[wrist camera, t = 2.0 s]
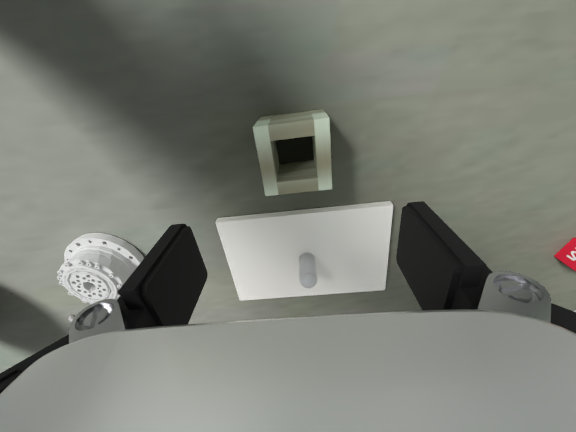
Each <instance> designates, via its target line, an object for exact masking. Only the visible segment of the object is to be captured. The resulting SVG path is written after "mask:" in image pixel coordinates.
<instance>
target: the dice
mask: <svg viewBox="0 0 576 432" xmlns="http://www.w3.org/2000/svg"><path fill="white" fill-rule="evenodd" d="M554 256H555V257H556V258H557V259H559V260H560V261H562V262H563V263H564V264H566V265H567V266H569V267H570V268H571V269H573V270H574V271H576V238H573V239H572V240H571V241H570V242H569V243H567V244H566V245H565V246H564V247H563V248H562V249H561V250H560V251H559V252H558V253H557V254H556V255H554Z"/></svg>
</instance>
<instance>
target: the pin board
mask: <svg viewBox="0 0 576 432" xmlns="http://www.w3.org/2000/svg"><path fill="white" fill-rule="evenodd" d="M392 214H393V204H392V203H391V201H385V202H375V203H365V204H355V205H345V206H335V207H325V208H314V209H304V210H294V211H284V212H274V213H264V214H254V215H244V216H234V217H224V218H217V220H216V222H215V223H216V226H217V229H218V232H219V236H220V239H221V242H222V245H223V248H224V252H225V255H226V258H227V261H228V264H229V267H230V271H231V274H232V277H233V280H234V283H235V286H236V290H237V293H238V296H239V299H240V301H241V300H255V299H269V298H283V297H296V296H310V295H324V294H338V293H352V292H366V291H379V290H385V285H386V275H387V265H388V255H389V245H390V234H391V224H392Z"/></svg>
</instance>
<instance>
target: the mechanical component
mask: <svg viewBox="0 0 576 432" xmlns="http://www.w3.org/2000/svg"><path fill="white" fill-rule="evenodd" d="M64 258H65V263H64V264H63V265H62V266H61V267H60V269H59V270H58V271H57V273H58V274H59V275H58V276H57V279H59V280H61V281H60V282H59V284H60V285H64V286H65V288H66V289H67V290H68V291H69V292H68V294H69V295H75V296H76V297H78V298H80V299H82V302H83V303H87V302H90V304H93V303H95V302H98V301H100V300H104V299H115V300H117V299H118V298H119V297H120V295H119V294H118V290H119V289H120V288H121V287H122V285H123V284H124V283H125V282H126V280H127V279H128V278H129V277H130V275H131V274H132V273H133V272H134V270H135V269H136V268H137V267H138V265H139V264H140V263H141V262H142V260H143V259H144V257H143V255H142V254H141V253H140V252H139V251H138V250H137V249H136V248H135V247H134V246H132V245H131V244H129V243H128V242H126V241H125V240H123V239H120V238H118V237H115V236H113V235H109V234H104V233H90V234H84V235H82V236H80V237H78V238H77V239H75V240H74V241H73V242H72V243H70V244H69V245H68V247H67V248H66V250H65V254H64Z"/></svg>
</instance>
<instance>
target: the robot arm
mask: <svg viewBox="0 0 576 432" xmlns="http://www.w3.org/2000/svg"><path fill="white" fill-rule="evenodd" d="M397 263H398V265H399V267H400V269H401V271H402V273H403V275H404V277H405V279H406V280H407V282H408V284H409V286H410V288H411V290H412V292H413V293H414V295H415V297H416V299H417V301H418V303H419V305H420V307H421V308H422V310H421V311H401V312H382V313H364V314H346V315H328V316H311V317H294V318H278V319H262V320H246V321H231V322H216V323H201V324H188V322H189V320H190V317H191V315H192V313H193V310H194V308H195V306H196V303H197V301H198V298H199V296H200V294H201V291H202V289H203V287H204V284H205V282H206V279H207V270H206V267H205V265H204V262H203V259H202V257H201V254H200V251H199V248H198V246H197V243H196V240H195V238H194V235H193V232H192V230H191V228H190V227H189V226H188V227H187V225H186V224H176V225H171V226H170V227H169V228H168V229H167V231H166V232H165V233H164V234H163V236H162V237H161V238H160V239H159V241H158V242H157V243H156V244H155V245H154V247H153V248H152V249H151V250H150V252H149V253H148V254H147V255H146V257H145V258H144V259H143V260H142V262H141V263H140V264H139V265H138V267H137V268H136V269H135V270H134V272H133V273H132V274H131V275H130V277H129V278H128V279H127V280H126V282H125V283H124V284H123V285H122V287H121V288H120V289H119V290H118V294H119V295H120V297H119V298H118V299H117V300H115V299H104V300H100V301H98V302H95V303H93V304H91V305H89V306H88V307H86V308H85V309H83V310H82V311H81V312H79V313H78V314H77V315H76V317H75V318H74V319H73V320H72V322H71V323H70V327H69V335H67V336H65V337H64V338H62V339H60V340H58V341H57V342H55V343H53V344H51V345H50V346H48V347H46V348H44V349H42V350H41V351H39V352H37V353H35V354H34V355H32V356H30V357H28V358H27V359H25V360H23V361H21V362H20V363H18V364H16V365H14V366H12V367H11V368H9V369H7V370H6V371H4V372H2V373H0V432H576V312H573V311H571V310H568V309H565V308H563V307H560V306H557V305H555V304H552V303H551V297H550V293H549V292H548V291H547V290H546V288H545V287H544V286H542V285H541V284H540V283H538V282H537V281H535V280H533V279H531V278H530V277H527V276H525V275H522V274H519V273H515V272H510V271H496V272H492V271H491V270H490V269H489V268H488V267H487V266H486V264H485V263H484V262H483V261H482V260H481V259H480V258H479V257H478V256H477V255H476V254H475V253H474V252H473V251H472V250H471V249H470V248H469V247H468V246H467V245H466V244H465V243H464V242H463V241H462V240H461V239H460V238H459V237H458V236H457V235H456V234H455V233H454V232H453V231H452V230H451V229H450V228H449V227H448V226H447V225H446V224H445V223H444V222H443V221H442V220H441V219H440V218H439V217H438V216H437V215H436V214H435V213H434V212H433V211H432V210H431V209H430V208H429V206H428V205H427V204H426V203H425V202H411V203H408V204H407V206H404V207H403V208H402V215H401V223H400V232H399V240H398V248H397Z"/></svg>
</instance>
